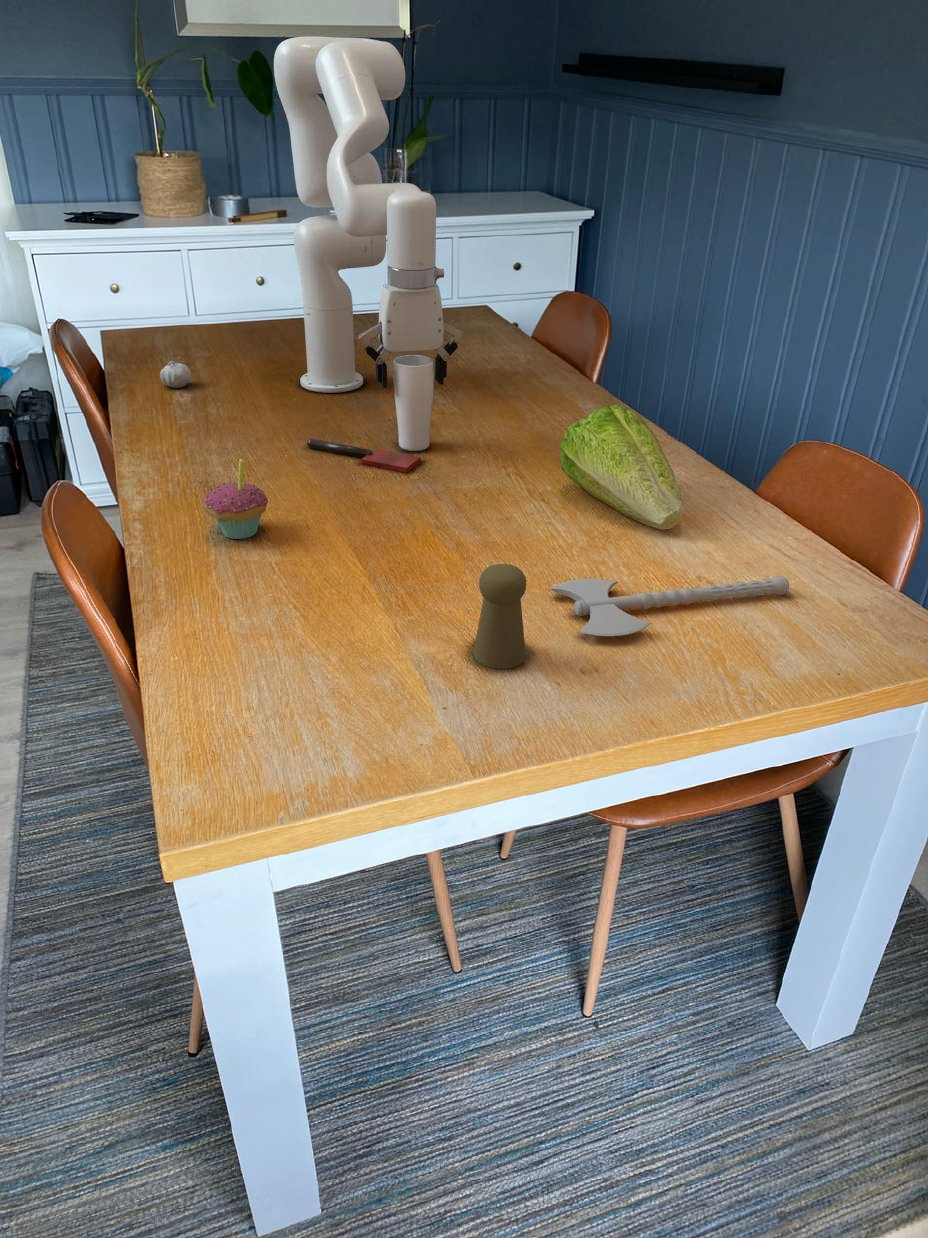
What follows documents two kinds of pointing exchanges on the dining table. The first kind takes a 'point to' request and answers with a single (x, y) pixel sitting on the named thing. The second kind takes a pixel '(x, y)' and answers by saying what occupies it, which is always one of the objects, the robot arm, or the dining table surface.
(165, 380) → the garlic
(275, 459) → the dining table surface
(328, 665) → the dining table surface
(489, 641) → the chess pawn
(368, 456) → the spatula
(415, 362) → the drinking glass
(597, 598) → the axe
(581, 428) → the lettuce
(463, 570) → the dining table surface
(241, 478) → the cupcake
